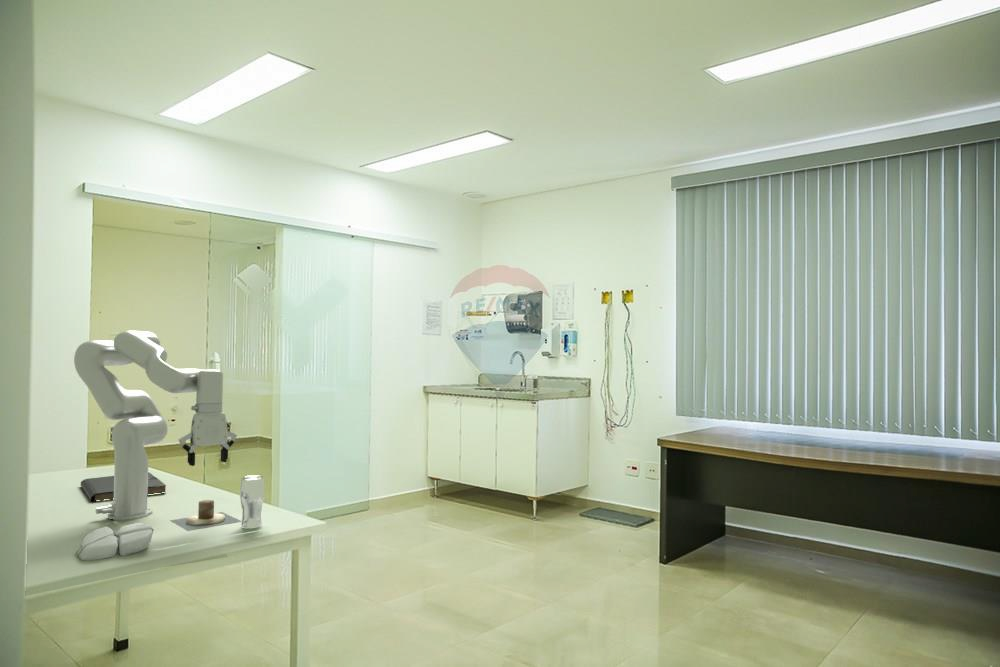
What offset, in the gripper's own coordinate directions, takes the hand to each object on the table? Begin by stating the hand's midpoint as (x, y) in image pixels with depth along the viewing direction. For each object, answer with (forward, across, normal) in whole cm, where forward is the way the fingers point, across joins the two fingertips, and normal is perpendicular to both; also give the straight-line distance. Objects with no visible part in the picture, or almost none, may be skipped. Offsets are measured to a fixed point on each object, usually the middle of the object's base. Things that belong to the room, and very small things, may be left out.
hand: (207, 463), depth 200 cm
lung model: (+19, -27, -8) cm, 34 cm away
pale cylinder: (+18, +8, -15) cm, 25 cm away
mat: (+18, 0, 0) cm, 18 cm away
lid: (+18, 0, 0) cm, 18 cm away
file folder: (+19, -6, +69) cm, 72 cm away
